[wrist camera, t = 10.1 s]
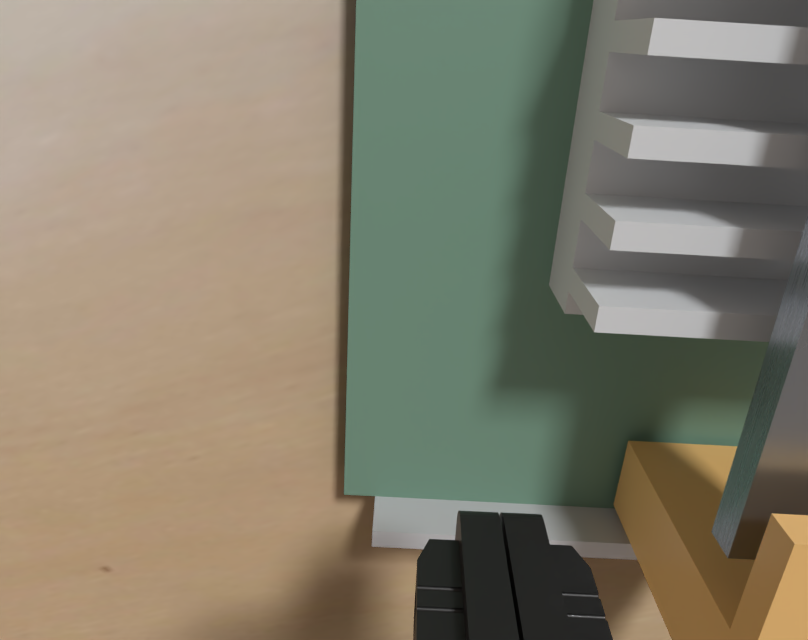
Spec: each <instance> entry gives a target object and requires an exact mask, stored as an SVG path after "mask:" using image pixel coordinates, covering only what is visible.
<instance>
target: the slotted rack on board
mask: <svg viewBox="0 0 808 640" xmlns="http://www.w3.org/2000/svg"><path fill="white" fill-rule="evenodd" d="M807 217H808V0H356V28H355V68H354V109H353V149H352V189H351V229H350V270H349V310H348V350H347V391H346V431H345V471H344V495H361V496H375V504H374V517H373V531H372V547H389V548H409V549H424V547H425V546H426V544H427V542H428V540H429V539H442V540H455V534H456V523H457V514H458V511H480V512H498V513H499V515H500V513H501V512H504V513H525V514H541V515H542V517H543V519H544V523H545V527H546V531H547V535H548V539H549V543H550V545H571V546H573V548H574V549H575V550H576V551H577V552H578V554H579V555H580V556H581V557H588V558H607V559H627V560H637V558H636V555H635V553H634V551H633V548H632V546H631V544H630V541H629V539H628V537H627V535H626V532H625V530H624V528H623V525H622V523H621V521H620V518H619V516H618V514H617V512H616V509H615V507H614V505H613V504H614V500H615V496H616V491H617V487H618V483H619V478H620V474H621V470H622V465H623V461H624V457H625V452H626V448H627V444H628V441H645V442H664V443H683V444H702V445H721V446H738V443H739V439H740V436H741V433H742V430H743V426H744V423H745V420H746V417H747V413H748V410H749V407H750V403H751V400H752V397H753V394H754V390H755V387H756V384H757V381H758V377H759V374H760V371H761V367H762V364H763V361H764V358H765V354H766V351H767V348H768V345H769V341H770V338H771V335H772V331H773V328H774V325H775V322H776V318H777V315H778V312H779V309H780V305H781V302H782V299H783V295H784V292H785V289H786V286H787V282H788V279H789V276H790V273H791V269H792V266H793V263H794V259H795V256H796V253H797V250H798V246H799V243H800V240H801V236H802V233H803V230H804V227H805V223H806V220H807Z"/></svg>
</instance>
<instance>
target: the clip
mask: <svg viewBox="0 0 808 640" xmlns="http://www.w3.org/2000/svg"><path fill="white" fill-rule="evenodd" d="M736 449H737V446H721V445H702V444H683V443H664V442H645V441H628V444H627V448H626V452H625V457H624V461H623V465H622V470H621V474H620V478H619V483H618V487H617V491H616V496H615V500H614V504H613V505H614V507H615V509H616V512H617V514H618V516H619V518H620V521H621V523H622V525H623V528H624V530H625V532H626V535H627V537H628V539H629V541H630V544H631V546H632V548H633V551H634V553H635V555H636V558H637V560H638V562H639V565H640V567H641V569H642V571H643V574H644V576H645V578H646V581H647V583H648V585H649V588H650V590H651V592H652V595H653V597H654V599H655V601H656V604H657V606H658V608H659V611H660V613H661V615H662V618H663V620H664V622H665V624H666V627H667V629H668V631H669V634H670V636H671V638H672V640H808V515H792V514H773V513H772V514H771V516H770V519H769V522H768V525H767V528H766V530H765V533H764V536H763V539H762V542H761V544H760V547H759V550H758V553H757V556H756V558H755V560H751V559H731V558H727V556H726V555H725V553H724V552H723V550H722V548H721V547H720V545H719V543H718V542H717V540H716V539H715V537H714V535H713V534H712V532H711V531H712V528H713V525H714V521H715V518H716V515H717V511H718V508H719V505H720V502H721V498H722V495H723V492H724V489H725V485H726V482H727V479H728V475H729V472H730V469H731V466H732V462H733V459H734V456H735V453H736Z"/></svg>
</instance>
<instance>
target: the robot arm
mask: <svg viewBox="0 0 808 640" xmlns="http://www.w3.org/2000/svg"><path fill="white" fill-rule="evenodd" d="M413 640H613V638H612V635H611V632H610V629H609V626H608V622H607V621H606V620H605V613H604V610H603V606H602V603H601V600H600V599H599V597H598V591H597V587H596V584H595V581H594V578H593V575H592V571H591V568H590V567H589V566H588V565H587V563H586V562H585V561H584V560H583V559H582V557H581V556H580V555H579V554H578V552H577V551H576V550H575V549H574V548H573V546H571V545H550V543H549V539H548V535H547V531H546V527H545V523H544V519H543V517H542V515H541V514H525V513H504V512H501V513H500V515H499V513H498V512H480V511H458V514H457V523H456V534H455V540H442V539H429V540H428V542H427V544H426V546H425V547H424V549H423V551H422V553H421V554H420V556H419V558H418V560H417V574H416V592H415V609H414V634H413Z"/></svg>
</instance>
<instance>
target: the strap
mask: <svg viewBox="0 0 808 640" xmlns="http://www.w3.org/2000/svg"><path fill="white" fill-rule="evenodd" d="M772 513H773V514H792V515H808V217H807V220H806V223H805V227H804V230H803V233H802V236H801V240H800V243H799V246H798V250H797V253H796V256H795V259H794V263H793V266H792V269H791V273H790V276H789V279H788V282H787V286H786V289H785V292H784V295H783V299H782V302H781V305H780V309H779V312H778V315H777V318H776V322H775V325H774V328H773V331H772V335H771V338H770V341H769V345H768V348H767V351H766V354H765V358H764V361H763V364H762V367H761V371H760V374H759V377H758V381H757V384H756V387H755V390H754V394H753V397H752V400H751V403H750V407H749V410H748V413H747V417H746V420H745V423H744V426H743V430H742V433H741V436H740V439H739V443H738V446H737V449H736V453H735V456H734V459H733V462H732V466H731V469H730V472H729V475H728V479H727V482H726V485H725V489H724V492H723V495H722V498H721V502H720V505H719V508H718V511H717V515H716V518H715V521H714V525H713V528H712V531H711V532H712V534H713V535H714V537H715V539H716V540H717V542H718V543H719V545H720V547H721V548H722V550H723V552H724V553H725V555H726V556H727V558H731V559H751V560H755V558H756V556H757V553H758V550H759V547H760V544H761V542H762V539H763V536H764V533H765V530H766V528H767V525H768V522H769V519H770V516H771V514H772Z"/></svg>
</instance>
